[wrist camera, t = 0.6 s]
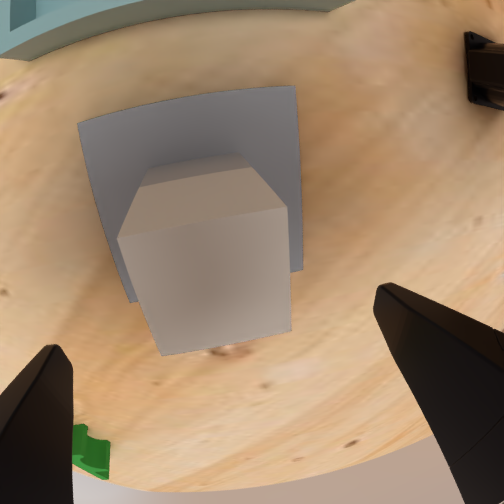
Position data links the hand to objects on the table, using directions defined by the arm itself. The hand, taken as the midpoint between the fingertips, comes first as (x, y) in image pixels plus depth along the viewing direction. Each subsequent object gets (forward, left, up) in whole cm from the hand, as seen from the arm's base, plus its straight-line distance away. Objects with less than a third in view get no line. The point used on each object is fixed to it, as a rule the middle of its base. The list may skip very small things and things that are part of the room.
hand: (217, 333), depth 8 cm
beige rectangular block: (0, 0, -11) cm, 11 cm away
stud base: (0, 0, -12) cm, 12 cm away
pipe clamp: (+20, +27, -12) cm, 36 cm away
